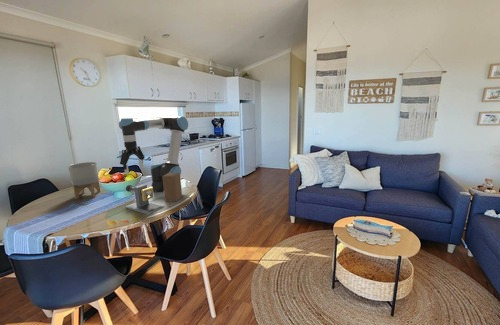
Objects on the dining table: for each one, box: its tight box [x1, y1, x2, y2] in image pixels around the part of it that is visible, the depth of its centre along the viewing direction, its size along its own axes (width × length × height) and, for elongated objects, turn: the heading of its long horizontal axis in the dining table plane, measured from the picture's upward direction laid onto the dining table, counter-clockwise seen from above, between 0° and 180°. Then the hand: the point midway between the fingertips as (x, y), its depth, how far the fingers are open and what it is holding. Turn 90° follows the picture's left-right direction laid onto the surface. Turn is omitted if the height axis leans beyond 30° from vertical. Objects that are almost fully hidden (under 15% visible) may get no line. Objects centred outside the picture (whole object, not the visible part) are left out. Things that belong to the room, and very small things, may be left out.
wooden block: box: [162, 173, 183, 202], centre depth 185 cm, size 10×10×20 cm
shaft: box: [125, 184, 154, 196], centre depth 172 cm, size 24×5×5 cm, turn 60°
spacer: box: [141, 186, 155, 201], centre depth 168 cm, size 2×8×8 cm, turn 150°
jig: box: [125, 183, 165, 215], centre depth 171 cm, size 24×14×16 cm, turn 60°
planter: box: [67, 161, 101, 200], centre depth 197 cm, size 19×19×26 cm
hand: (134, 171), depth 169 cm, fingers open, 13 cm apart
